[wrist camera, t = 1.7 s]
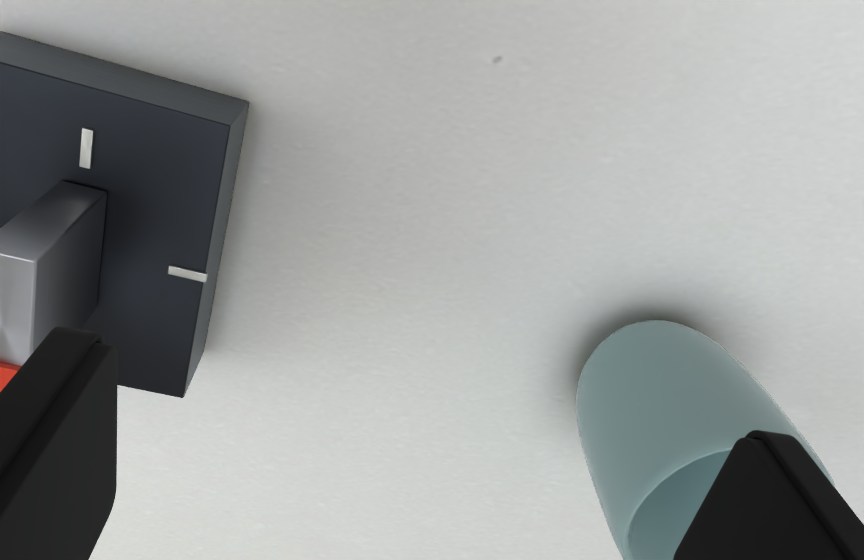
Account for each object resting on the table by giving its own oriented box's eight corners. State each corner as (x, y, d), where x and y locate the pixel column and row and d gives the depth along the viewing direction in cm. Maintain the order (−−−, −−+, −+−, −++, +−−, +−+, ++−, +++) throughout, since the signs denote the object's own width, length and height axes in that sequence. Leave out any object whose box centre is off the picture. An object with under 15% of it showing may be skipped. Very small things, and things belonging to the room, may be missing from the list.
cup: (656, 446, 36) (743, 620, 27) (529, 396, 34) (578, 565, 25) (752, 332, 33) (885, 487, 24) (619, 269, 31) (710, 412, 22)
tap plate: (-3, 29, 25) (-63, 46, 21) (252, 102, 26) (232, 127, 23) (-7, 306, 30) (-56, 353, 27) (206, 352, 32) (184, 401, 28)
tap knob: (60, 179, 24) (-30, 250, 19) (108, 191, 24) (31, 264, 19) (52, 299, 26) (-30, 392, 21) (96, 309, 26) (25, 403, 21)
